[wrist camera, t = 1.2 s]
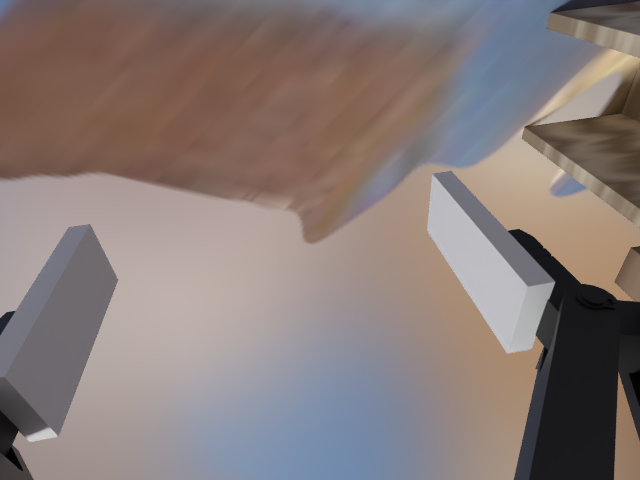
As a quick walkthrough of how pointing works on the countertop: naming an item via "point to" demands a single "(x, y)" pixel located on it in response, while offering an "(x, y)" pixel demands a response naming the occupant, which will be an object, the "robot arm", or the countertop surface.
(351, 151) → the countertop surface
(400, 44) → the countertop surface
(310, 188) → the countertop surface
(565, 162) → the birch shelf
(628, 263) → the brown box and bar
